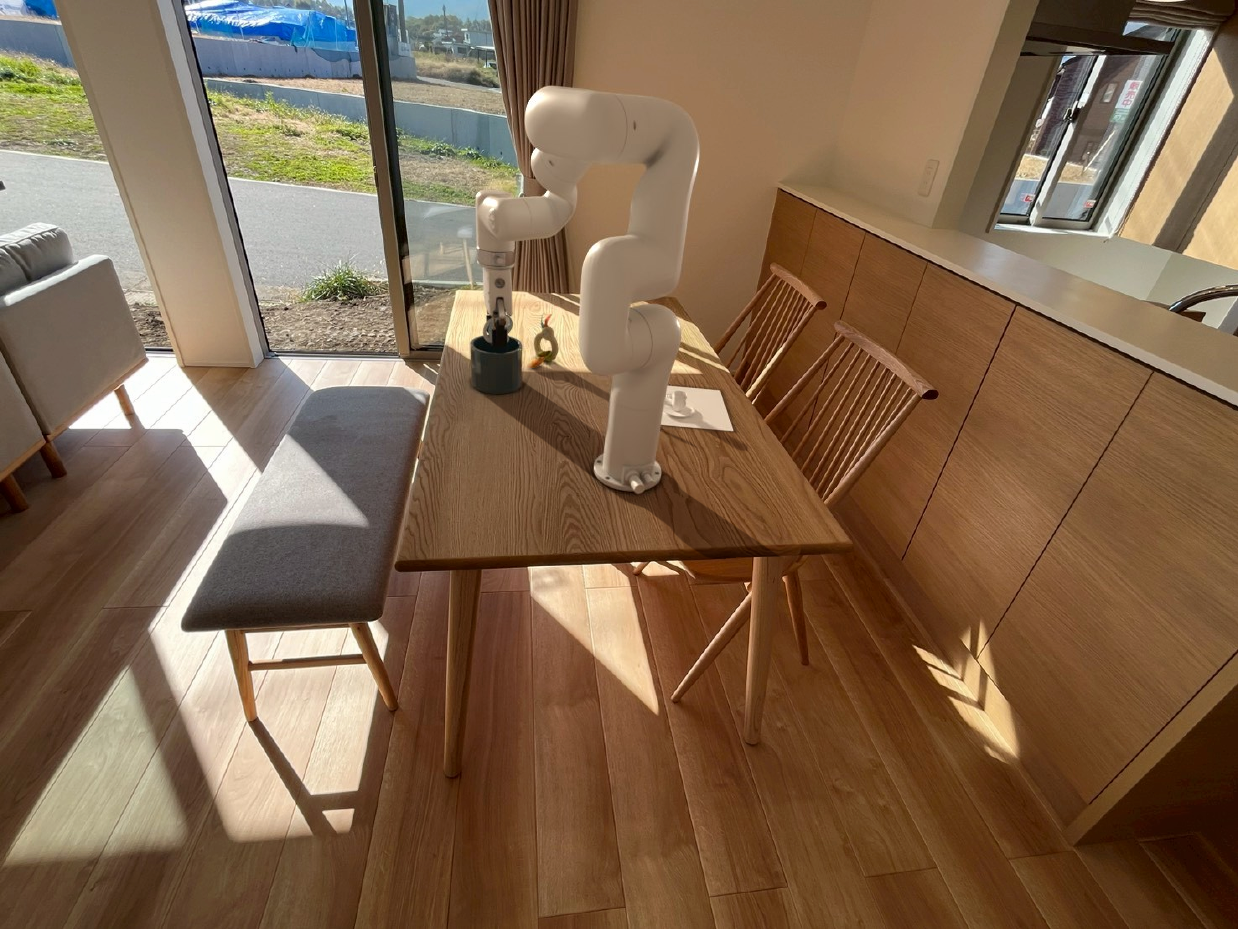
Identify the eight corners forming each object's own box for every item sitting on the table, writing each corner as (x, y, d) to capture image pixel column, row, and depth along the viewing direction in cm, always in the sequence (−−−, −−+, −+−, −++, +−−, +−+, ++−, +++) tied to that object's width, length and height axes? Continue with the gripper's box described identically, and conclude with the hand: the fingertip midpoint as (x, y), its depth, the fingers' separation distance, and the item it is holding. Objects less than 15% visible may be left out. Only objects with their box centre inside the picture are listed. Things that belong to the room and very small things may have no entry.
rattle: (516, 359, 148) (517, 314, 142) (543, 353, 153) (545, 309, 147) (533, 370, 144) (534, 324, 138) (560, 364, 149) (563, 319, 143)
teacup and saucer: (658, 398, 138) (660, 382, 136) (692, 401, 138) (695, 386, 136) (660, 416, 131) (663, 400, 128) (696, 420, 131) (699, 403, 129)
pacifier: (478, 342, 129) (506, 350, 130) (480, 327, 123) (508, 335, 124) (487, 315, 132) (514, 323, 133) (489, 298, 126) (517, 307, 127)
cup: (525, 392, 134) (526, 353, 128) (474, 395, 130) (473, 354, 125) (516, 371, 142) (517, 333, 137) (469, 373, 139) (467, 334, 134)
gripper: (522, 269, 115) (521, 354, 125) (507, 246, 129) (507, 324, 138) (482, 268, 113) (484, 356, 123) (471, 245, 126) (474, 325, 136)
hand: (496, 338), depth 130 cm, fingers closed on pacifier, 7 cm apart
